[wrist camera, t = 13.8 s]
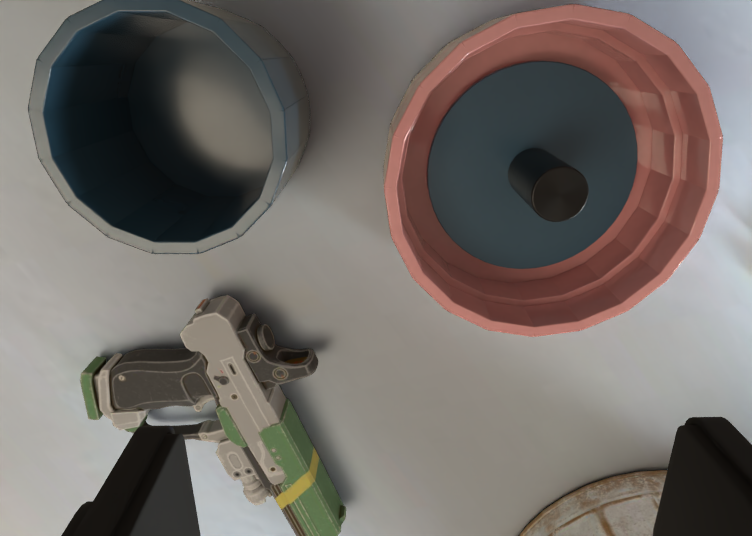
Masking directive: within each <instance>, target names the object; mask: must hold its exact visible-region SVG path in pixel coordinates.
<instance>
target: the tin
mask: <svg viewBox="0 0 752 536" xmlns="http://www.w3.org/2000/svg"><path fill="white" fill-rule="evenodd" d="M28 112H29V117H30V121H31V126H32V130H33V135H34V140H35V144H36V149H37V153H38V158H39V160H40V162H41V163H42V165H43V167H44V168H45V170H46V171H47V173H48V175H49V176H50V178H51V179H52V181H53V183H54V184H55V186H56V187H57V189H58V190H59V192H60V194H61V195H62V197H63V198H64V200H65V202H66V203H67V204H68V205H69V206H70V207H71V208H72V209H74V210H75V211H76V212H77V213H79V214H80V215H81V216H82V217H83V218H85V219H86V220H87V221H88V222H90V223H91V224H92V225H93V226H95V227H96V228H97V229H98V230H99V231H101V232H102V233H103V234H104V235H106V236H107V237H109V238H111V239H114V240H117V241H119V242H122V243H125V244H127V245H130V246H133V247H135V248H138V249H141V250H144V251H146V252H149V253H152V254H153V253H154V254H199V253H203V252H206V251H208V250H211V249H213V248H216V247H218V246H221V245H223V244H225V243H228V242H230V241H233V240H235V239H238V238H240V237H241V236H243V235H244V233H245V232H246V231H247V230H248V229H249V228H250V227H251V226H252V225H253V224H254V223H255V222H256V221H257V220H258V219H259V218H260V217H261V216H262V215H263V214H264V213H265V212H266V211H267V210H268V209H269V208H270V207H271V205H272V204H273V202H274V201H275V199H276V198H277V196H278V195H279V194H280V192H281V191H282V189H283V188H284V186H285V185H286V183H287V182H288V181H289V179H290V178H291V176H292V175H293V173H294V172H295V170H296V169H297V167H298V165H299V162H300V159H301V157H302V155H303V152H304V150H305V147H306V144H307V140H308V138H309V134H310V105H309V96H308V92H307V90H306V86H305V84H304V81H303V78H302V75H301V73H300V71H299V69H298V67H297V65H296V64H295V62H294V60H293V58H292V57H291V55H290V54H289V53H288V52H287V51H286V49H285V48H284V47H283V46H282V45H281V44H280V42H279V41H278V40H276V39H275V38H274V37H273V36H272V35H271V34H270V33H269V32H267V31H266V30H265V29H264V28H263V27H262V26H261V25H258V24H256V23H254V22H252V21H250V20H248V19H246V18H243V17H241V16H238V15H236V14H234V13H231V12H229V11H227V10H224V9H220V8H217V7H213V6H209V5H205V4H201V3H197V2H193V1H189V0H101V1H99V2H97V3H95V4H93V5H91V6H89V7H87V8H85V9H83V10H81V11H79V12H77V13H75V14H73V15H71V16H69V17H68V18H67V19H65V21H64V22H63V24H62V25H61V26H60V28H59V29H58V30H57V32H56V33H55V35H54V36H53V37H52V39H51V40H50V41H49V43H48V44H47V46H46V47H45V48H44V50H43V51H42V52H41V54H40V55H39V56H38V59H37V60H36V66H35V71H34V77H33V82H32V88H31V93H30V99H29V105H28Z"/></svg>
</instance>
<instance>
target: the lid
mask: <svg viewBox="0 0 752 536" xmlns="http://www.w3.org/2000/svg"><path fill="white" fill-rule="evenodd" d="M637 160H638V155H637V140H636V134H635V130H634V127H633V123H632V120H631V118H630V116H629V113H628V111H627V109H626V107H625V106H624V104H623V103H622V101H621V100H620V98H619V97H618V95H617V94H616V93H615V92H614V91H613V90H612V89H611V88H610V87H609V86H608V85H607V84H606V83H605V82H603V81H602V80H601V79H599V78H598V77H597V76H595V75H593V74H591V73H590V72H588V71H586V70H584V69H581V68H579V67H576V66H573V65H570V64H565V63H561V62H553V61H529V62H523V63H518V64H513V65H510V66H507V67H504V68H501V69H498V70H496V71H494V72H492V73H490V74H488V75H486V76H485V77H483V78H482V79H480V80H479V81H477V82H476V83H474V84H473V85H471V86H470V87H469V88H468V89H467V90H466V91H465V92H463V93H462V94H461V95H460V96H459V97H458V99H457V100H456V101H455V102H454V103H453V104H452V105H451V107H450V108H449V109H448V111H447V112H446V114H445V115H444V117H443V118H442V120H441V122H440V124H439V126H438V128H437V130H436V132H435V135H434V138H433V140H432V143H431V147H430V151H429V156H428V164H427V185H428V191H429V197H430V200H431V204H432V207H433V210H434V212H435V214H436V216H437V219H438V221H439V223H440V224H441V226H442V227H443V229H444V230H445V232H446V233H447V234H448V235H449V237H450V238H451V239H452V240H453V241H454V242H455V243H456V244H457V245H458V246H459V247H461V248H462V249H463V250H464V251H466V252H467V253H469V254H470V255H472V256H473V257H475V258H477V259H479V260H482V261H484V262H486V263H489V264H492V265H495V266H500V267H505V268H513V269H531V268H539V267H545V266H549V265H552V264H556V263H559V262H562V261H564V260H566V259H569V258H571V257H573V256H575V255H576V254H578V253H580V252H582V251H583V250H585V249H586V248H588V247H589V246H590V245H592V244H593V243H594V242H596V241H597V240H598V239H599V238H600V237H601V236H602V235H603V234H604V233H605V232H606V231H607V230H608V229H609V228H610V226H611V225H612V224H613V223H614V222H615V220H616V219H617V217H618V216H619V214H620V213H621V211H622V209H623V208H624V206H625V204H626V202H627V200H628V198H629V195H630V192H631V190H632V187H633V183H634V179H635V175H636V169H637Z"/></svg>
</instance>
